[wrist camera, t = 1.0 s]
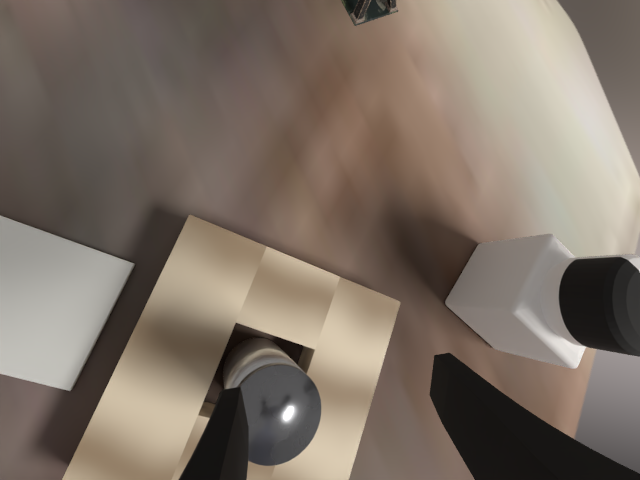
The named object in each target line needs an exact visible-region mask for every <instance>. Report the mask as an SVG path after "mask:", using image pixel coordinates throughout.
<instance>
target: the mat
mask: <svg viewBox="0 0 640 480" xmlns="http://www.w3.org/2000/svg"><path fill="white" fill-rule="evenodd" d="M134 266H135V264H134V263H131V262H128V261H126V260H123V259H120V258H117V257H114V256H112V255H109V254H106V253H103V252H101V251H98V250H95V249H92V248H89V247H87V246H84V245H81V244H78V243H76V242H73V241H70V240H67V239H64V238H62V237H59V236H56V235H53V234H50V233H48V232H45V231H42V230H39V229H37V228H34V227H31V226H28V225H25V224H23V223H20V222H17V221H14V220H12V219H9V218H6V217H3V216H0V374H4V375H8V376H12V377H16V378H20V379H24V380H28V381H32V382H36V383H40V384H44V385H48V386H52V387H56V388H60V389H64V390H68V391H71V390H72V389H73V387H74V385H75V383H76V381H77V379H78V377H79V375H80V373H81V371H82V369H83V367H84V365H85V363H86V361H87V359H88V357H89V355H90V353H91V351H92V349H93V347H94V346H95V344H96V342H97V340H98V338H99V336H100V334H101V332H102V330H103V328H104V326H105V324H106V322H107V320H108V318H109V316H110V314H111V312H112V310H113V308H114V306H115V304H116V302H117V300H118V298H119V296H120V294H121V292H122V290H123V288H124V286H125V284H126V282H127V280H128V278H129V276H130V274H131V272H132V270H133V268H134Z"/></svg>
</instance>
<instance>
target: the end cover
mask: <svg viewBox="0 0 640 480" xmlns="http://www.w3.org/2000/svg"><path fill="white" fill-rule="evenodd" d="M223 383H224V389H229V388H235V387H241V390H242V396H243V401H244V406H245V411H246V416H247V421H248V426H249V456H248V461H250V462H252V463H255V464H258V465H263V466H274V465H279V464H283V463H285V462H288V461H290V460H292V459H293V458H295V457H296V456H298V455H299V454H300V453H301V452H302V451H303V450H304V449H306V447H307V446H308V445H309V444H310V442H311V441H312V439H313V438H314V436H315V434H316V432H317V429H318V426H319V423H320V419H321V399H320V395H319V392H318V389H317V387H316V385H315V384H314V382H313V381H312V379H311V378H310V377H309V376H308V375H307V374H306V373H305V372H304V371H303V370H302V369H301V368H300V367H299V366H298V365H297V364H296V363H295V362H294V361H293V360H292V359H291V358H290V357H289V356H288V355H287V354H286V353H285V352H284V351H283V350H282V349H281V348H280V347H279V346H278V345H277V344H275V343H274V342H273V341H271V340H269V339H266V338H260V337H255V338H250V339H246V340H244V341H242V342H240V343H239V344H238V345H236V346H235V347H234V348H233V349H232V350H231V351H230V353H229V354H228V356H227V358H226V360H225V363H224V367H223Z"/></svg>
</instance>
